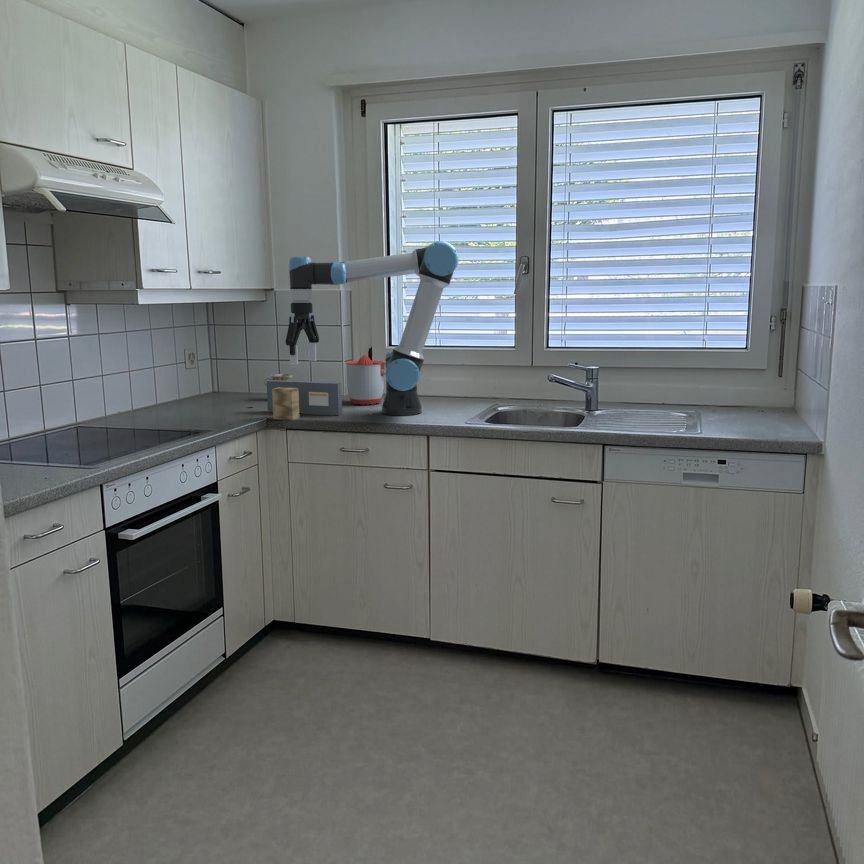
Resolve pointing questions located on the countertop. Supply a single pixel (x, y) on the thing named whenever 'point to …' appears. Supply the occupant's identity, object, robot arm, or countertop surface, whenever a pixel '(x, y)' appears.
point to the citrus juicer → (365, 380)
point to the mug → (281, 377)
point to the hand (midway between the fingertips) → (303, 362)
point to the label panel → (311, 396)
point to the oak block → (285, 403)
